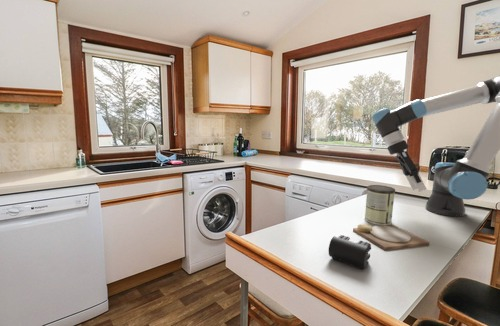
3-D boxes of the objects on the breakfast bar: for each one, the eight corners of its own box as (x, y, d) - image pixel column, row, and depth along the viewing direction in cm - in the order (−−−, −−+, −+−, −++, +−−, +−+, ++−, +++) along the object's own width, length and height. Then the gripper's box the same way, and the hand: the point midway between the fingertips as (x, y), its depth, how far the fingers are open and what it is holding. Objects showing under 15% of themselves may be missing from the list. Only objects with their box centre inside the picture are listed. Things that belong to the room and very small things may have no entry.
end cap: (327, 261, 79) (328, 239, 78) (337, 253, 84) (338, 232, 83) (362, 274, 73) (365, 250, 72) (370, 264, 78) (373, 242, 77)
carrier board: (392, 226, 107) (393, 221, 106) (429, 244, 92) (430, 238, 91) (353, 230, 102) (353, 225, 101) (384, 250, 87) (385, 243, 86)
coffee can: (363, 215, 120) (366, 183, 117) (389, 218, 116) (393, 186, 114) (365, 223, 110) (368, 189, 108) (393, 227, 107) (397, 192, 104)
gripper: (384, 149, 129) (405, 191, 125) (389, 143, 106) (415, 194, 102) (400, 142, 127) (422, 185, 123) (409, 135, 104) (437, 187, 100)
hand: (419, 189), depth 112 cm, fingers open, 13 cm apart
